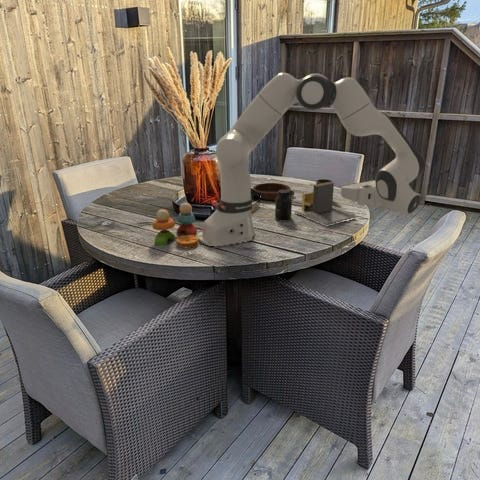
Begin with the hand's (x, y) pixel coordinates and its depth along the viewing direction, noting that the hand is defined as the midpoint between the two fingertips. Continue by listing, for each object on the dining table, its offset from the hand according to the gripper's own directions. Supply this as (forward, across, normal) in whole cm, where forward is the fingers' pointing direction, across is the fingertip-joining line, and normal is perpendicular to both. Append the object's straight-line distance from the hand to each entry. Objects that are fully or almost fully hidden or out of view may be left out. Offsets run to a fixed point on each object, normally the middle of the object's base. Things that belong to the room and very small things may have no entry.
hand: (349, 184), depth 171 cm
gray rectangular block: (+16, -1, +15) cm, 22 cm away
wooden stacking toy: (+25, +60, +19) cm, 68 cm away
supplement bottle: (+21, +15, +18) cm, 31 cm away
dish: (+49, 0, +18) cm, 52 cm away
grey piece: (+12, -1, +17) cm, 21 cm away
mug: (+28, -15, +17) cm, 36 cm away
